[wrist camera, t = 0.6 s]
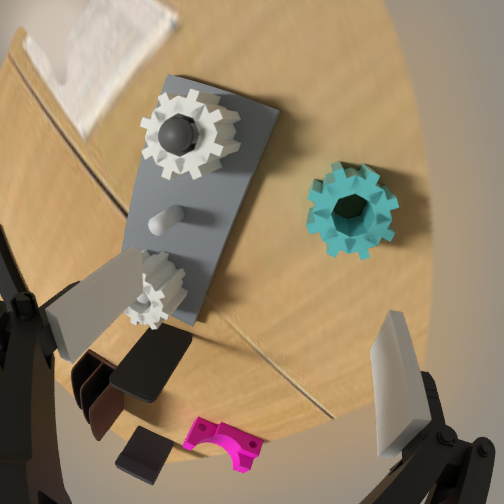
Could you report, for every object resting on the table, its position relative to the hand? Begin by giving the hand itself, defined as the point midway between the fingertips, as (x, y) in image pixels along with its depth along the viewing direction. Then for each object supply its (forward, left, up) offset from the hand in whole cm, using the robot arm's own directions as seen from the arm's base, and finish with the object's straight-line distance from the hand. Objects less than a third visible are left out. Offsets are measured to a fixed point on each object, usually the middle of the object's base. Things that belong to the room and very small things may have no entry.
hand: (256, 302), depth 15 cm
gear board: (+7, -13, -21) cm, 26 cm away
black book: (+44, -59, -22) cm, 77 cm away
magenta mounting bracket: (+52, +9, -22) cm, 57 cm away
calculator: (+73, -6, -21) cm, 77 cm away
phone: (+27, -9, -21) cm, 36 cm away
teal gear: (-3, +5, -21) cm, 22 cm away
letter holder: (+58, -22, -22) cm, 66 cm away
